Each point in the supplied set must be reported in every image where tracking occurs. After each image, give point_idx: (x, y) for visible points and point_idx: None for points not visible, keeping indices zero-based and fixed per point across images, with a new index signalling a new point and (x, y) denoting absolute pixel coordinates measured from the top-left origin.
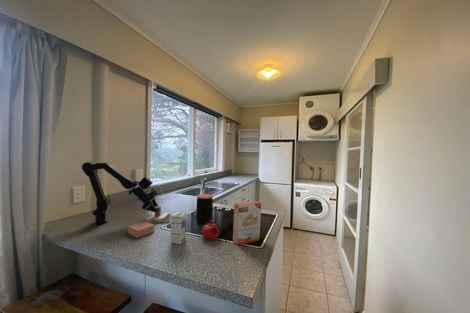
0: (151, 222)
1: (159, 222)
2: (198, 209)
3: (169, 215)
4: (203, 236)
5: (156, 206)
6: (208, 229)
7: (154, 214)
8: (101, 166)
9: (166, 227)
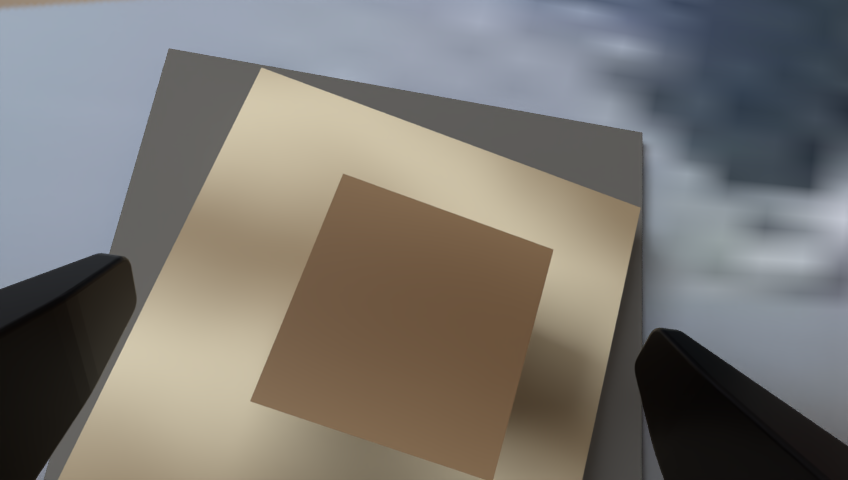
0: (607, 469)
1: (638, 304)
2: None
3: None
4: None
5: (328, 392)
6: None
7: (262, 423)
8: None
9: (816, 204)
